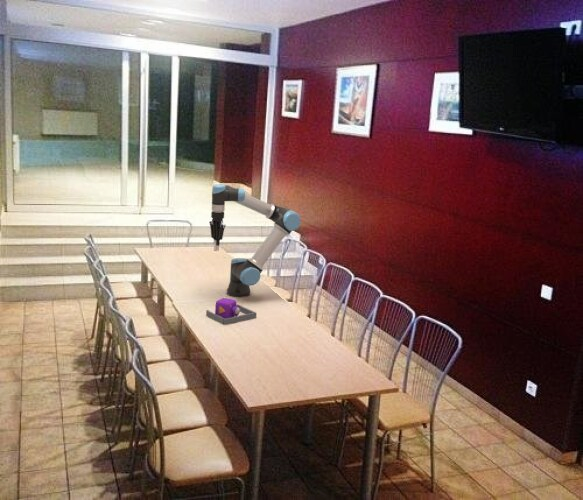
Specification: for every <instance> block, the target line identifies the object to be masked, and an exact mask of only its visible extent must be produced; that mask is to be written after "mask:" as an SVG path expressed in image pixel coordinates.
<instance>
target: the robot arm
mask: <svg viewBox="0 0 583 500" xmlns="http://www.w3.org/2000/svg"><path fill="white" fill-rule="evenodd" d="M226 202H234V203H237V204H239V205H241V206H243V207H246V208H248V209H250V210H252V211H253V212H256V213H258V214H261V215H264V216H265V218H266V219H269V220H270V221H271V222H273V226H274V227H273V228H272V230H271V231H270V233H269V234H268V235H267V237H266V238H265V240H264V241H262V243H261V245H260V246H259V247H258V249H256V251H255V253H254V254H253V256H252V257H251V258H243V257H241V258H240V257H237V258H232V259H231V261H230V273H229V274H230V275H229V276H230V277H229V283H228V286H227V289H226V294H227V295H228V296H231V297H236V298H237V297H238V298H245V297H249V296H250V295H251V288H250V286H254V285H257V283H259V281H260V280H261V273H262V272H263V271H264V268H263V267H264V265H265V264H266V262H267V261H268V260H269V258H270V257H271V256H272V254H273V253H275V250H276V249H277V248H278V246H279V245H281V242H282V241H283V239H284V238H285V237H286V236H289V235H291V233H292V232H293V231H296V230H298V229H299V227H300V225H301V217H300V215H299V214H298V212H296V211H294V210H291V209H289V208H286V207H283V206H279V205H275V204H274V203H271V204H270V203H267V202H265V201H264V200H261V199H259V198H256V197H254V196H253V195H250V194H248V193H246V191H245V189H243V188H235V187H233V186H231V185H228V184H214V185H212V190H211V214H210V215H211V216H210V217H211V218H212V219H211V221H209V227H210V235H211V237H210V238H211V239H212V240H213V251H215V252H218V251H219V250H220V243H221V242H220V240H221V241H222V240H223V237H224V234H225V233H224V232H225V228H226V226H227V225H226V224H225V223H224V221H223V219H224V218H225V209H226V208H225V206H226V205H225V204H226Z"/></svg>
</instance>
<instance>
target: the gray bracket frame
mask: <svg viewBox="0 0 583 500" xmlns="http://www.w3.org/2000/svg"><path fill="white" fill-rule="evenodd" d="M237 305H239V306H240V313H243V314H241V315H240V314H239V315H238V316H235V315H234V316H233V317H231V318H223V317H221V316H219V315H216V314H215V312H212V311H210V310H209V309H208V308H207V309H205V316H206V317H207V318H210V319H212V320H213V321H216V322H217V323H219V324H221V325H224V326H226V325H229V324H235V323H239V322H244V321H249V320H252V319H257V312H256V311H254V310H251V309H249V308H247V307H244V306H242V305H240V304H239V303H237V304H236V306H237Z"/></svg>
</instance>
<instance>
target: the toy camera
mask: <svg viewBox="0 0 583 500" xmlns="http://www.w3.org/2000/svg"><path fill="white" fill-rule="evenodd" d="M236 304H238V303H237V300H235V299H231V298H228V297H226V296H224V297H222V298H219V299H218V300H216V301H215V308H214V309H215V310H214V311H215V312H214V314H216V315H219V316H221V317H223V318H225V319H226V318H231V317H235V316H240V313H241V312H240V306H241V305H240V304H238V305H237V306H236ZM239 305H240V306H239Z"/></svg>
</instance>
